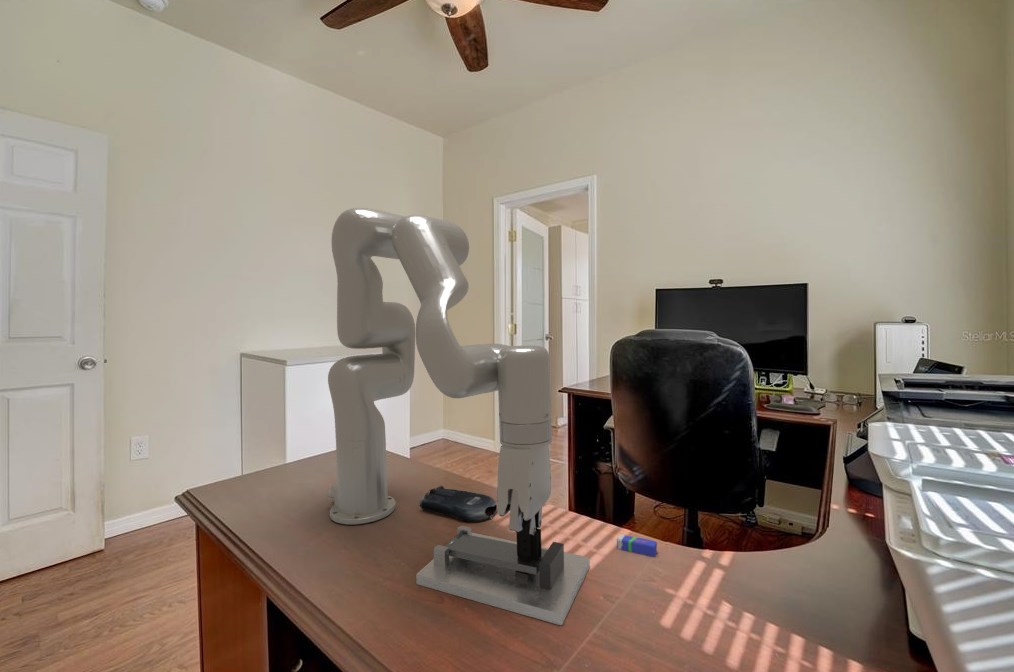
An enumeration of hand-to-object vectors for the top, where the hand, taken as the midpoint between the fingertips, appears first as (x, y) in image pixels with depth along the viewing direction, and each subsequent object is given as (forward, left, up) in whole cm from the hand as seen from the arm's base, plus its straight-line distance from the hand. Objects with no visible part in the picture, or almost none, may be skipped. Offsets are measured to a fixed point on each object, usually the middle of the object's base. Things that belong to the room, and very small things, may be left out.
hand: (529, 556), depth 63 cm
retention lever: (-6, 0, -1) cm, 6 cm away
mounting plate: (-4, 0, -4) cm, 5 cm away
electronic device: (-22, +17, -4) cm, 28 cm away
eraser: (+13, +15, -4) cm, 20 cm away
